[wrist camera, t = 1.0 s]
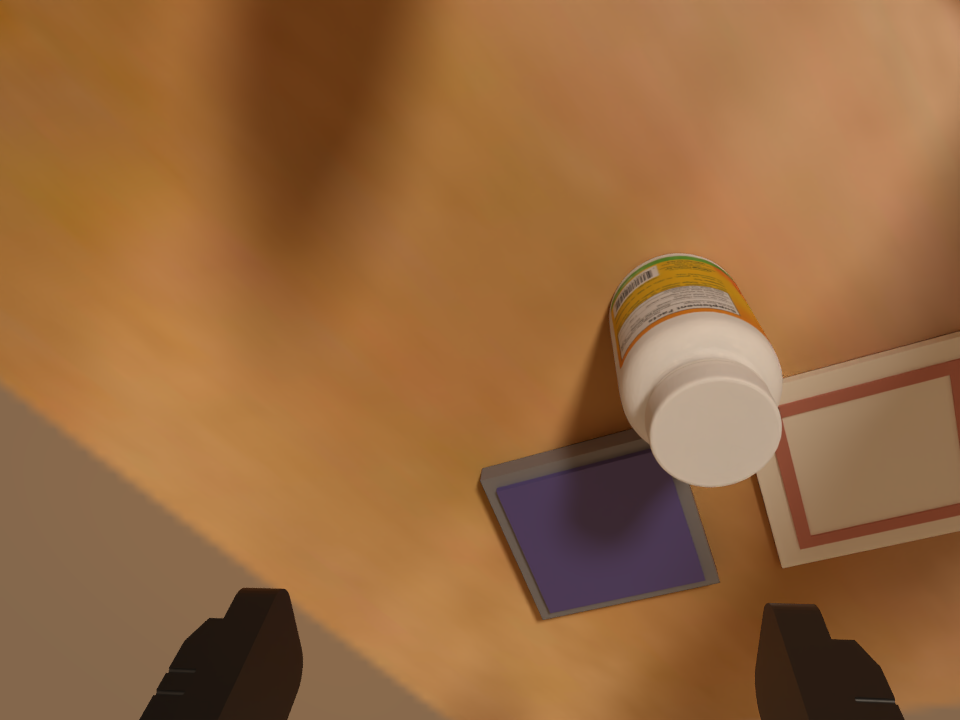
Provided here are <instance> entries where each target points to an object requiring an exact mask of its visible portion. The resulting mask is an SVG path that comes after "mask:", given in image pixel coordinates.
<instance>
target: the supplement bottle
mask: <svg viewBox="0 0 960 720" xmlns="http://www.w3.org/2000/svg"><path fill="white" fill-rule="evenodd" d="M609 324H610V333H611V340H612V346H613V353H614V359H615V366H616V373H617V379H618V387H619V394H620V399H621V403H622V406H623V410H624V413H625V415H626V417H627V419H628V421H629V423H630V425H631V426H632V427H633V429H634V430H635V431H636V433H637V434H638V435H639V436H640V437H641V438H642V439H644V440H645V441H646V442H647V443H648V444H650V448H651V451H652V453H653V455H654V457H655V459H656V460H657V462H658V463H659V465H660V466H661V467H662V468H663V469H664V470H665V471H666V472H667V473H668V474H670V475H671V476H673V477H674V478H676V479H678V480H680V481H682V482H685V483H687V484H691V485H695V486H701V487H721V486H727V485H731V484H735V483H738V482H740V481H742V480H745V479H747V478H749V477H751V476H752V475H754V474H755V473H757V472H758V471H759V470H761V469H762V468H763V467H764V466H765V465H766V464H767V463H768V462H769V461H770V459H771V458H772V457H773V455H774V453H775V451H776V450H777V448H778V445H779V442H780V439H781V433H782V421H781V416H780V412H779V409H778V405H779V403H780V399H781V395H782V387H783V378H782V370H781V366H780V363H779V360H778V358H777V355H776V353H775V351H774V349H773V347H772V345H771V343H770V342H769V340H768V338H767V336H766V335H765V333H764V331H763V330H762V328H761V326H760V324H759V323H758V321H757V319H756V318H755V316H754V314H753V312H752V311H751V309H750V307H749V306H748V304H747V302H746V300H745V299H744V297H743V295H742V294H741V292H740V290H739V288H738V287H737V285H736V284H735V282H734V281H733V279H732V278H731V277H730V276H729V274H728V273H727V272H726V271H725V270H724V269H723V268H721V267H720V266H719V265H717V264H716V263H714V262H712V261H710V260H708V259H706V258H703V257H700V256H697V255H692V254H684V253H673V254H666V255H662V256H658V257H655V258H653V259H650V260H648V261H646V262H644V263H642V264H641V265H639V266H638V267H636V268H635V269H633V270H632V271H631V272H630V273H629V274H628V275H627V276H626V277H625V278H624V279H623V281H622V282H621V283H620V285H619V286H618V288H617V290H616V292H615V294H614V296H613V299H612V301H611V306H610V311H609Z"/></svg>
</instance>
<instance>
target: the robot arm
mask: <svg viewBox="0 0 960 720" xmlns="http://www.w3.org/2000/svg"><path fill="white" fill-rule="evenodd" d="M302 655H303V654H302V648H301V644H300V639H299V635H298V631H297V626H296V622H295V618H294V613H293V609H292V604H291V600H290V596H289V593H288V592H287V590H285V589H271V588H242V589H241V590H240V591H239V592H238V593H237V594H236V596H235V598H234V600H233V602H232V604H231V605H230V607H229V609H228V611H227V613H226V615H225V617H224V618H223V619H222V618H209V619H208V620H207V621H205V622H204V623H203V624H202V625H201V626H200V627H199V628H198V629H197V630H196V631H195V632H194V633H193V634H191V635H190V636H189V637H188V638H187V639H186V640H185V641H184V643H183V644H182V646H181V648H180V650H179V652H178V653H177V655H176V657H175V658H174V660H173V662H172V664H171V665H170V667H169V673H166V674H165V676H164V678H163V679H162V681H161V683H160V685H159V686H158V688H157V693H156V695H153V697H152V699H151V700H150V702H149V704H148V705H147V707H146V709H145V711H144V712H143V714H142V716H141V718H140V719H139V720H287V719H288V716H289V713H290V711H291V708H292V705H293V703H294V700H295V697H296V694H297V692H298V689H299V686H300V682H301V676H302V668H303V656H302ZM755 688H756V698H757V704H758V709H759V713H760V717H761V720H904V717H903V715H902V713H901V711H900V709H899V706H898V705H896V704H895V698H894V695H893V693H892V691H891V689H890V687H889V684H888V682H887V680H886V678H885V676H884V673H883V671H882V669H881V667H880V666H879V665H878V664H877V663H876V662H875V661H874V660H873V659H872V658H871V657H870V656H869V655H868V654H867V653H866V651H865V650H864V649H863V648H862V647H861V646H860V645H859V644H858V643H857V642H856V641H855V640H837V639H831V637H830V634H829V632H828V629H827V627H826V624H825V622H824V619H823V617H822V614H821V612H820V610H819V609H818V607H817V606H816V605H814V604H780V603H767V604H766V605H765V607H764V612H763V618H762V625H761V632H760V640H759V647H758V654H757V661H756V669H755Z"/></svg>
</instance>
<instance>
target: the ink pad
mask: <svg viewBox="0 0 960 720" xmlns="http://www.w3.org/2000/svg"><path fill="white" fill-rule="evenodd" d="M480 482H481V484H482V486H483V488H484V490H485V493H486V495H487V497H488V499H489V501H490V504H491V506H492V508H493V510H494V513H495V515H496V517H497V519H498V521H499V524H500V526H501V528H502V530H503V533H504V535H505V537H506V539H507V541H508V544H509V546H510V548H511V550H512V552H513V555H514V557H515V559H516V561H517V564H518V566H519V568H520V570H521V572H522V575H523V577H524V579H525V581H526V583H527V586H528V588H529V590H530V592H531V595H532V597H533V599H534V601H535V603H536V606H537V608H538V610H539V612H540V614H541V617H542V619H543V620H545V619H549V618H554V617H559V616H564V615H568V614H573V613H578V612H583V611H588V610H592V609H597V608H602V607H607V606H611V605H616V604H621V603H626V602H630V601H635V600H640V599H645V598H649V597H654V596H659V595H664V594H668V593H673V592H678V591H683V590H687V589H692V588H697V587H702V586H706V585H711V584H716V583H720V581H719V577H718V573H717V569H716V566H715V563H714V560H713V557H712V554H711V550H710V547H709V544H708V541H707V538H706V535H705V531H704V528H703V525H702V522H701V519H700V516H699V512H698V509H697V506H696V503H695V500H694V497H693V493H692V490H691V487H690V484H687V483H685V482H682V481H680V480H678V479H676V478H674V477H673V476H671V475H670V474H668V473H667V472H666V471H665V470H664V469H663V468H662V467H661V466H660V465H659V463H658V462H657V460H656V459H655V457H654V455H653V453H652V451H651V448H650V444H648V443H647V442H646V441H645V440H644V439H642V438H641V437H640V436H639V435H638V434H637V433H636V431H635V430H634V429H630V430H626V431H623V432H619V433H615V434H611V435H607V436H604V437H600V438H596V439H592V440H589V441H585V442H581V443H577V444H573V445H570V446H566V447H562V448H558V449H555V450H551V451H547V452H543V453H540V454H536V455H532V456H528V457H524V458H521V459H517V460H513V461H509V462H506V463H502V464H498V465H494V466H491V467H487V468H483V469H482V473H481V480H480Z"/></svg>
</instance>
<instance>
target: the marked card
mask: <svg viewBox="0 0 960 720" xmlns="http://www.w3.org/2000/svg"><path fill="white" fill-rule="evenodd" d="M778 409H779V412H780V416H781V421H782V433H781V439H780V442H779V445H778V448H777V450H776V451H775V453H774V455H773V457H772V458H771V459H770V461H769V462H768V463H767V464H766V465H765V466H764V467H763V468H762V469H761V470H759V471H758V472H757V473H756V475H757V478H758V482H759V486H760V489H761V493H762V497H763V501H764V504H765V508H766V512H767V515H768V519H769V523H770V526H771V530H772V534H773V537H774V541H775V545H776V548H777V552H778V556H779V560H780V563H781V566H782V568H787V567H791V566H796V565H801V564H806V563H810V562H815V561H820V560H825V559H829V558H834V557H839V556H844V555H848V554H853V553H858V552H863V551H867V550H872V549H877V548H882V547H886V546H891V545H896V544H901V543H905V542H910V541H915V540H920V539H924V538H929V537H934V536H939V535H943V534H948V533H953V532H958V531H960V331H959V332H955V333H951V334H947V335H944V336H940V337H936V338H933V339H929V340H925V341H921V342H918V343H914V344H910V345H906V346H903V347H899V348H895V349H892V350H888V351H884V352H880V353H877V354H873V355H869V356H865V357H862V358H858V359H854V360H851V361H847V362H843V363H839V364H836V365H832V366H828V367H824V368H821V369H817V370H813V371H810V372H806V373H802V374H798V375H795V376H791V377H787V378H783V387H782V395H781V399H780V403H779V405H778Z"/></svg>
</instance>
